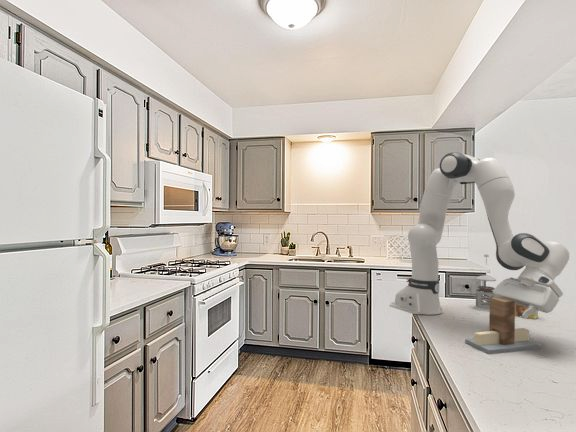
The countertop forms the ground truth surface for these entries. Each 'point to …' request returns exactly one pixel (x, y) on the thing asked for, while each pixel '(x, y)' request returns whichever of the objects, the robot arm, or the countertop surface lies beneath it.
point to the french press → (483, 292)
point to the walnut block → (502, 319)
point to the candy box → (522, 308)
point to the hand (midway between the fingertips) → (509, 313)
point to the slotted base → (504, 347)
